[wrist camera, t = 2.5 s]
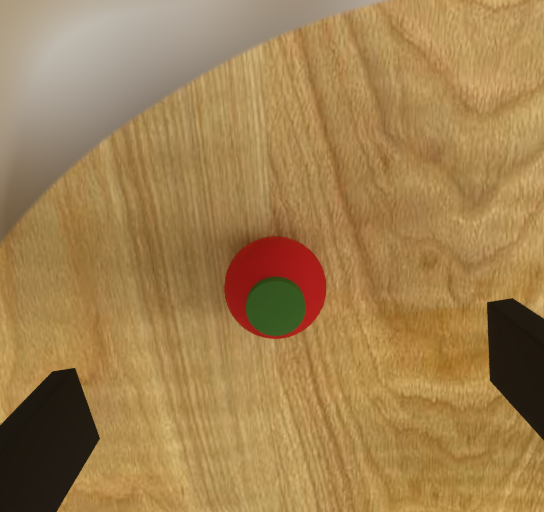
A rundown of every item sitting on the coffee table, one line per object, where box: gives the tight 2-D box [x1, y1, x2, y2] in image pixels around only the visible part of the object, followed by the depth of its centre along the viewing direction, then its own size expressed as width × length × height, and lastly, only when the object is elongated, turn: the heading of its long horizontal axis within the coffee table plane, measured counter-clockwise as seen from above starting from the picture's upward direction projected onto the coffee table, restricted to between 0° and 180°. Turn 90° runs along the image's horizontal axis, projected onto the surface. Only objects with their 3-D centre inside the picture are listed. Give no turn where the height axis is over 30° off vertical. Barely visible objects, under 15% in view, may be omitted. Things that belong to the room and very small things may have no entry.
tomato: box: [224, 237, 326, 339], centre depth 20 cm, size 5×5×5 cm
